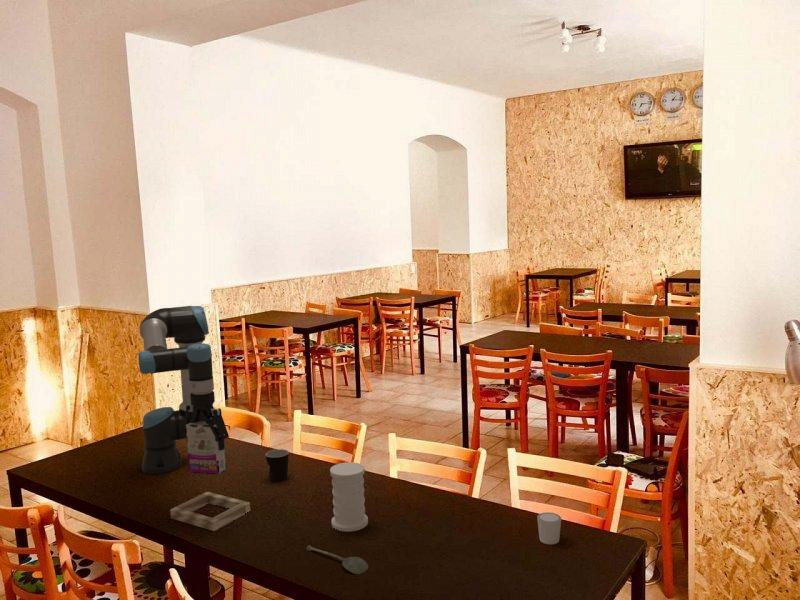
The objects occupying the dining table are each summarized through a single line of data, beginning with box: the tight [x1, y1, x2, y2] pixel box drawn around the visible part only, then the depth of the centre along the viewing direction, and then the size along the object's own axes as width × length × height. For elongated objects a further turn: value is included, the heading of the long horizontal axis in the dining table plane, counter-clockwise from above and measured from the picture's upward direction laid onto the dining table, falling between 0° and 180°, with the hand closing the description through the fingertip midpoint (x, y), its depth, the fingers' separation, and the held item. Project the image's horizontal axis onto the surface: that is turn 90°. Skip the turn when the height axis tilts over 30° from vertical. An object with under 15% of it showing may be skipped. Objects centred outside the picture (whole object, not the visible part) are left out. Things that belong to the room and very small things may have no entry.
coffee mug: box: [264, 448, 290, 483], centre depth 248 cm, size 12×9×10 cm
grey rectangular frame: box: [169, 491, 251, 532], centre depth 218 cm, size 20×16×3 cm
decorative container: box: [329, 461, 369, 533], centre depth 208 cm, size 12×12×18 cm
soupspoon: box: [306, 544, 369, 575], centre depth 186 cm, size 22×3×7 cm
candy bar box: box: [186, 421, 227, 475], centre depth 216 cm, size 11×5×16 cm, turn 76°
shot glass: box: [536, 512, 562, 545], centre depth 193 cm, size 7×7×7 cm
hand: (206, 456), depth 216 cm, fingers closed on candy bar box, 12 cm apart
